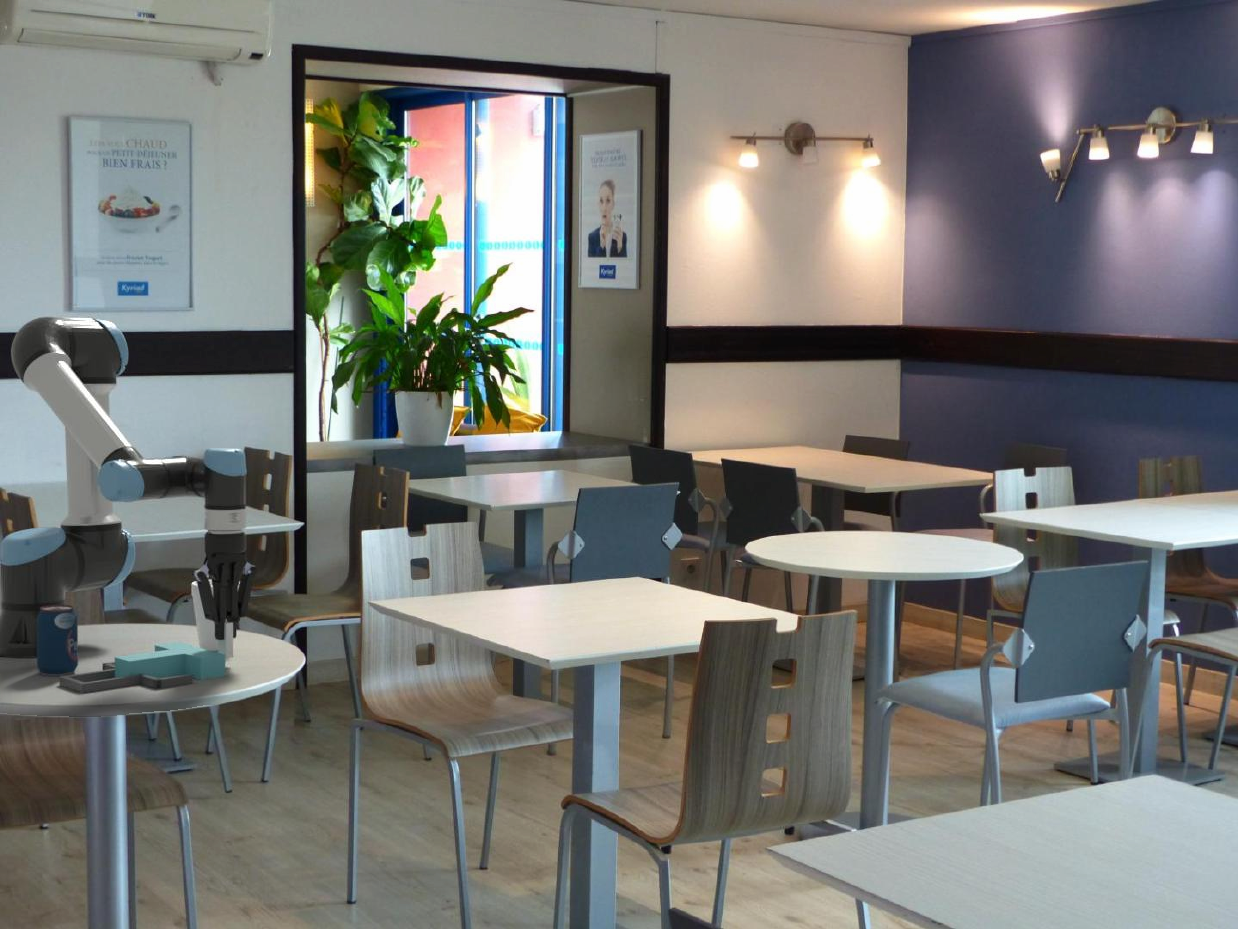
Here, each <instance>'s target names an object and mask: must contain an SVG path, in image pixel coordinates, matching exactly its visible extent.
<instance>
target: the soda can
mask: <svg viewBox="0 0 1238 929" xmlns="http://www.w3.org/2000/svg"><path fill="white" fill-rule="evenodd" d="M40 610H41V611H40V613H39V615H38V617H37V657H36V658H37V659H36V663H37V664H36V667H37V670H38V671H39V672H40V674H41V675H43V676H49V677H60V676H67V675H73V674H74V673H75V671H76V669H77V668H78V665H79V647H78V646H79V640H78V638H79V636H78V632H79V630H78V629H79V628H78V625H79V624H78V614H77V612H76V611H75V606H73V605H71V604H65V605H49V606H44V607H41V608H40Z"/></svg>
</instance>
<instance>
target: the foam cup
mask: <svg viewBox="0 0 1238 929" xmlns="http://www.w3.org/2000/svg"><path fill="white" fill-rule="evenodd" d="M208 580H209V582H210V586H211V590H212V595H213V585H212V579H208ZM239 584H240V580H239ZM238 589H239V585H238ZM190 590H191V591H190V592H191V596H192V600H193V601H192V602H193V608H194V610H193V611H194V616H195V623H196V631H197V632H196V633H197V639H198V645H199V648H203V649H207V650H210V651H214V652H218V640H217V639H215V623H214V621H211V620H208V619H206V618H205V616H204V611H203V607H202V602H201V598H200V593H199V589H198V585H197V582H196V580H195V581H193V582H192V583H191V589H190ZM226 621H227V620H226ZM234 640H235V638H233V643H234Z"/></svg>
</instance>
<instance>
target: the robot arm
mask: <svg viewBox="0 0 1238 929" xmlns="http://www.w3.org/2000/svg"><path fill="white" fill-rule="evenodd" d="M10 356H11V363H12V366H13V369H14V371H15V373H16V375H17V376H18V378H19V379H20V380H21V382H22V383H23V384H24V386H25V387H26V388H27V389H28V390H30V391H32V392H35V393H38V395H39V396H40V397H41V398H42V400H43V401H44V402H45V403H46V405H47V406H48V407H49V408H50V409H51V411H52V412H53V413H54V415H55V416H56V417H57V418H58V419H59V421H60V423H62V425H63V426H64V432H65V434H64V435H65V437H64V438H65V457H66V458H65V459H66V460H65V462H66V464H65V466H66V481H67V482H66V486H67V487H66V489H67V490H66V491H67V511H68V512H67V515H66V517H65V518H64V519H63V520H62V521H61V522H60V527H54V526H49V527H48V526H44V527H38V528H28V529H22V530H18V531H14V532H12V533H9V534H8V535H6V536H5V537H4V538H3V540H2V541H1V542H0V544H1V546H0V608H1V609H0V657H9V658H37V617H38V615H39V613H40V611H41V610H40V608H41V607H44V606H49V605H66V593H70V592H78V591H79V592H80V591H86V590H92V589H100V590H101V589H105V588H107V587H111V586H112V587H113V586H115V585H119V584H120V583H122V582H123V581H125V580H126V579H127V577H128V576H129V575H130V573H131V572H132V570H133V568H134V565H135V561H136V560H135V559H136V546H135V545H136V544H135V541H134V539H132V535H131V534H130V532H129V531H127V530H126V529H125V528H122V526H123V525H122V519H120V517H119V516H117V515H116V514H115V512H114V502H115V503H117V502H119V503H120V502H121V503H122V502H123V503H133V502H138V501H139V502H140V501H147V500H159V499H160V500H161V499H163V500H164V499H175V498H189V497H191V498H203V499H204V506H203V508H204V516H203V517H204V524H203V526H204V527H203V528H204V529H205V530H206V531H207V532H205V534H204V551H205V558H204V560H203V565H202V566H201V567H200V568H198V570H192V572H191V574H192V575H191V576H192V577H193V578H194V580H195V581H196V582H197V585H198V589H199V593H200V598H201V602H202V607H203V611H204V616H205V618H206V619H208V620H211V621H214V623H215V639H217V640H218V651H217V652H218V653H221V654H225V659H228V658H229V659H230V658H233V657H234V642H233V638H234V639H236V638H237V623H239V622H240V620H241V618H244V617H246V615H247V613H248V608H249V603H250V602H249V601H250V596H251V592H252V588H253V581H254V579H255V576H256V574H257V573H258V571H259V567H258V566H257V565H252V564H251V563H250V562H248V558H247V557H246V550H247V533H246V532H245V531H244V530H245V529H247V521H246V520H247V512H246V511H247V471H248V470H247V462H246V453H245V451H243V450H242V449H241V448H236V447H233V448H232V447H229V448H228V447H227V448H226V447H217V448H208V449H206V450H205V451H204V455H203V457H195V456H194V457H193V456H187V455H170V456H167V457H161V458H144V457H143V455H142V454H141V453H140V452H139V451H138V449H137V448H136V447H135V446H134V445H133V444H132V442H131V441H130V440H129V439H128V438H127V436H126V435H125V434H124V432H123V431H122V430H121V428H120V427H118V425H117V423H116V422H115V421H114V420H113V419H112V418H111V414H110V413H111V412H110V410H111V409H110V393H111V392H112V391H113V390H114V389H115V388H116V386H117V385H118V384H117V377H118V376H120V375H122V373H123V372H124V371H125V370H126V367H125V366H127V365H128V362H129V348H128V343H127V341H126V338H125V336H124V334H123V332H122V330H120V329H119V328H118V326H117V325H116V324H114V323H113V322H111V321H110V320H105V319H99V318H95V317H94V318H92V317H85V318H84V317H53V316H43V317H41V316H40V317H37V318H34V319H32V320H30V321H28V322H26V323H25V324H23V325H22V327H20V329H19V330H18V331H17V332H16V333H15V336H14V338H13V341H12V344H11V348H10ZM209 577H211V580H212V585H213V595H212V590H211V586H210V582H209V580H210V579H209ZM239 581H240V584H239ZM238 585H239V589H238ZM226 620H227V621H226Z"/></svg>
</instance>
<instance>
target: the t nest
mask: <svg viewBox="0 0 1238 929" xmlns="http://www.w3.org/2000/svg"><path fill="white" fill-rule="evenodd" d="M58 677H59V678H58V679H59V681H58V683H59V686H60V687H64V688H67V689H70V690H73V691H74V692H79V693H81V694H84V693H90V692H91V693H92V692H96V691H104V690H109V689H115V688H116V689H117V688H122V687H123V688H124V687H128V686H135V685H143V686H147V687H150V688H151V689H152V688H153V689H156V690H157V689H158V690H159V689H165V688H171V687H177V686H183V685H184V686H185V685H189V684H190V685H191V684H194V678H193V675H192V674H187V675H180V676H174V677H167V678H160V679H158V678H155V677H152V676H149V675H145V674H138V675H131V676H125V677H118V678H115V661H112V662H105V663H104V662H103V663H102V670H98V671H97V670H95V671H89V672H83V673H82V672H81V673H76V674H74V673H73V674H68V675H62V676H58Z"/></svg>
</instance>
